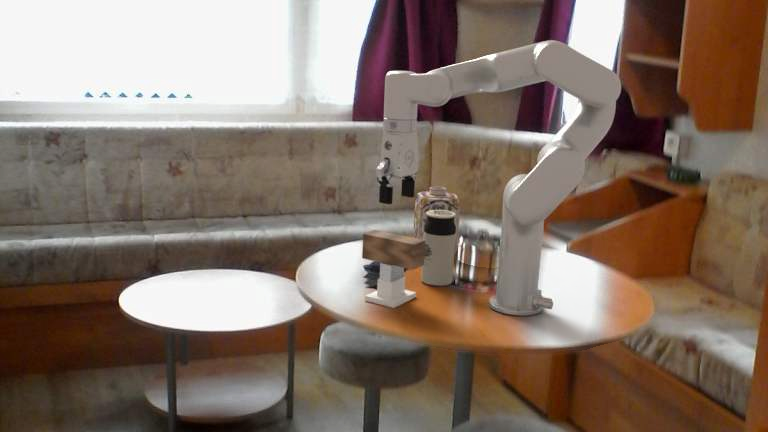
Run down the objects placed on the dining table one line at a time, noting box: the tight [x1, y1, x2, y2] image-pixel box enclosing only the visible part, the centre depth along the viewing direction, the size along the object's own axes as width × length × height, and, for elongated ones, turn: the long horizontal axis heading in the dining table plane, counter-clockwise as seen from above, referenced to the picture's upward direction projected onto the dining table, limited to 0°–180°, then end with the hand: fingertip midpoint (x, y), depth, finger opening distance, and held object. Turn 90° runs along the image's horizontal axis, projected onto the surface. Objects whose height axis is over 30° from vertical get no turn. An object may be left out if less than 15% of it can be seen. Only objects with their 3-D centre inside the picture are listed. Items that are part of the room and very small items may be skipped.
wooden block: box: [361, 229, 425, 271], centre depth 204 cm, size 14×5×6 cm, turn 57°
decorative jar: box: [412, 186, 461, 255], centre depth 251 cm, size 12×12×18 cm
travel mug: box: [420, 210, 456, 287], centre depth 220 cm, size 8×8×18 cm
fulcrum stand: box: [364, 263, 417, 309], centre depth 206 cm, size 8×10×9 cm
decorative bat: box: [362, 261, 406, 289], centre depth 224 cm, size 30×4×10 cm
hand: (396, 199), depth 202 cm, fingers open, 9 cm apart
